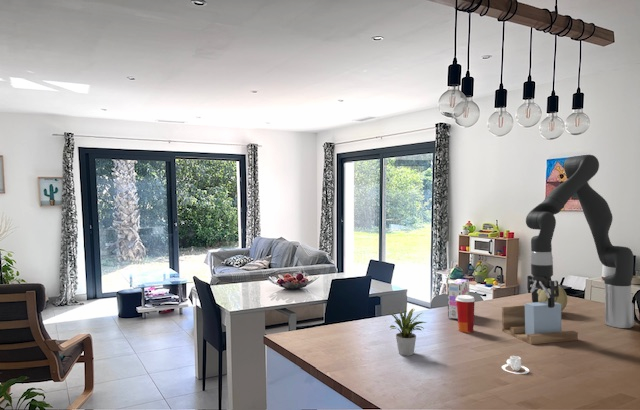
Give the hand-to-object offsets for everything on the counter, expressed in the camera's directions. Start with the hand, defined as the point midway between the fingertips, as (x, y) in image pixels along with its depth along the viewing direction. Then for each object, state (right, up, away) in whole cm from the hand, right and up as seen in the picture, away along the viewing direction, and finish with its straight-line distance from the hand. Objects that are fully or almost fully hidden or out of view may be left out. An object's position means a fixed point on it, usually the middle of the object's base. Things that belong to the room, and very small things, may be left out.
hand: (542, 304), depth 163 cm
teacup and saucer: (-22, -14, -30) cm, 39 cm away
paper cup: (-26, -13, +10) cm, 31 cm away
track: (0, -13, +2) cm, 13 cm away
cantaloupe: (+22, -13, +35) cm, 43 cm away
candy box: (-22, -13, +32) cm, 41 cm away
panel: (0, -12, 0) cm, 12 cm away
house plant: (-57, -14, -16) cm, 61 cm away
